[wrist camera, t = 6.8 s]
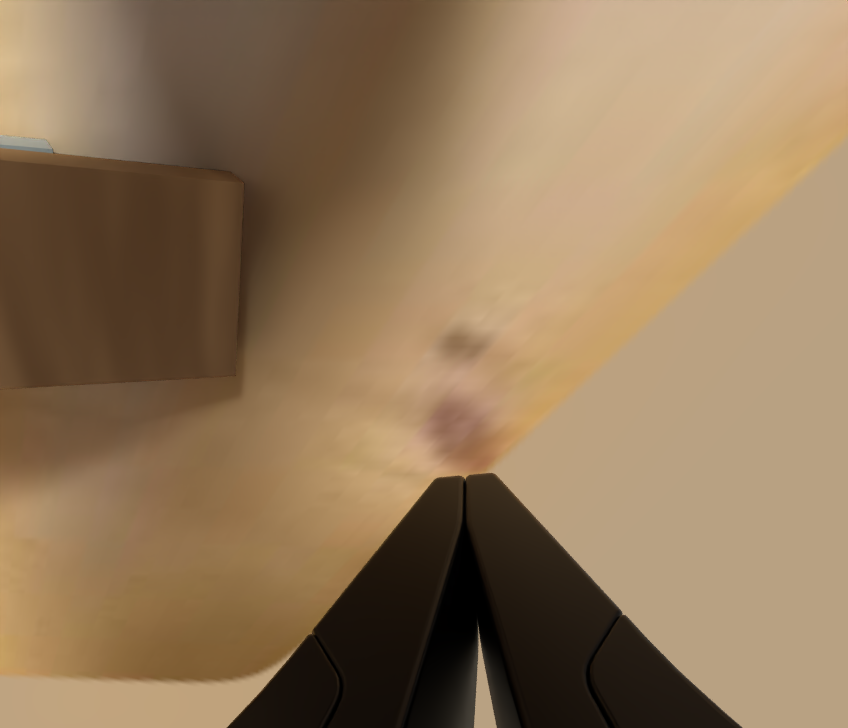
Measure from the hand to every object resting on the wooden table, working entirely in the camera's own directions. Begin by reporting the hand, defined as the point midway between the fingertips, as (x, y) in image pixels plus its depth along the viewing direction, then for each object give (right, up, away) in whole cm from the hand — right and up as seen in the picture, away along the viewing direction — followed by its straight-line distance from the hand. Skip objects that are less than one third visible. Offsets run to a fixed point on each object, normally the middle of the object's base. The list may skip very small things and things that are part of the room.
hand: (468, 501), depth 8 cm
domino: (-6, +4, +7) cm, 10 cm away
